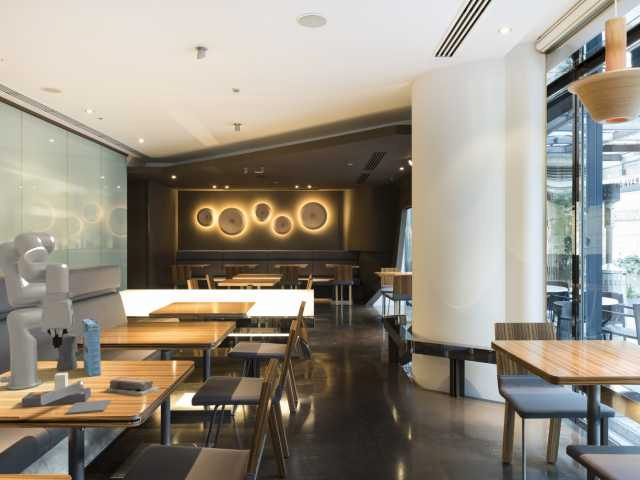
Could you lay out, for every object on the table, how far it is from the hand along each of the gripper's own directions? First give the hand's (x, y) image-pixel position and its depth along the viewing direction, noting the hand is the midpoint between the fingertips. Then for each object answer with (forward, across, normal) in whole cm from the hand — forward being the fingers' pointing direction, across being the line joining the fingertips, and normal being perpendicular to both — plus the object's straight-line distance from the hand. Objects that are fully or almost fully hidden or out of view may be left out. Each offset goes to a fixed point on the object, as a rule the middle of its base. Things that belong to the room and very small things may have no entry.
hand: (57, 347), depth 183 cm
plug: (+20, -1, -1) cm, 20 cm away
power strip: (+20, +1, -1) cm, 20 cm away
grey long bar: (+16, -4, +9) cm, 18 cm away
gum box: (+21, -3, -45) cm, 50 cm away
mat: (+20, -12, +10) cm, 25 cm away
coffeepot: (+22, +11, -57) cm, 62 cm away
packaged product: (+21, -25, -8) cm, 33 cm away
